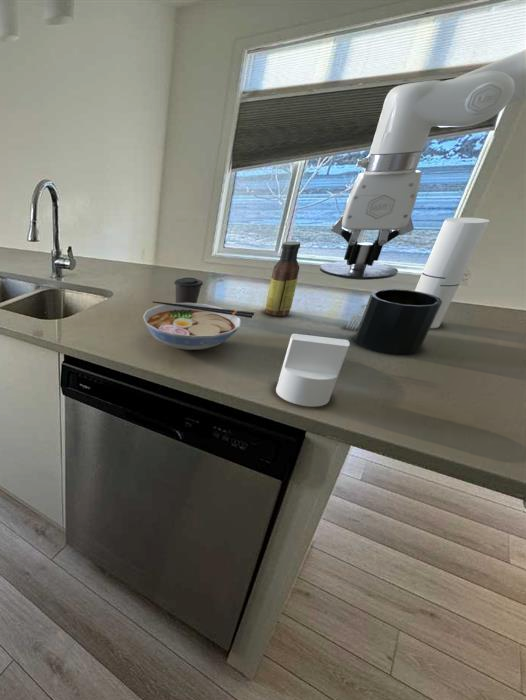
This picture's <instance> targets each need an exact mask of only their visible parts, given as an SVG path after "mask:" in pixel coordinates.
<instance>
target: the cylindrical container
mask: <svg viewBox="0 0 526 700" xmlns="http://www.w3.org/2000/svg"><path fill="white" fill-rule="evenodd" d="M489 223H490V220H489V219H487V218H480V217H448V218H445V219H444V221H443V222H442V226H441V227H440V231H439V232H438V235H437V237H436V240H435V242H434V244H433V247H432V249H431V252H430V254H429V256H428V258H427V261H426V263H425V265H424V268H423V270H422V273H421V275H420V278H419V280H418V282H417V284H416V287H415V289H414V291H418V292H423V293H427V294H431V295H433V296H436V297H438V298H440V299H441V301H442V304H441V306H440V308H439V310H438V312H437V314H436V316H435V319H434V321H433V323H432V325H431V327H430V329H437V328H439V327H440V326H441V324H442V322H443V320H444V319H445V318H444V317H445V316H446V313H447V311H448V309H449V307H450V305H451V303H452V301H453V299H454V297H455V295H456V292H457V290H458V288H459V286H460V284H461V283H462V281H463V277H464V275H465V274H466V271H467V269H468V267H469V265H470V263H471V261H472V259H473V257H474V255H475V253H476V250H477V248H478V246H479V244H480V242H481V240H482V238H483V236H484V234H485V231H486V229H487V228H488V225H489Z"/></svg>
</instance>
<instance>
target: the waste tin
mask: <svg viewBox="0 0 526 700" xmlns="http://www.w3.org/2000/svg"><path fill="white" fill-rule="evenodd" d="M441 304H442V301H441V299H440V298H438V297H436V296H433V295H431V294H427V293H423V292H418V291H415V290H411V289H400V288H399V289H397V288H387V289H378V290H374V291H373V292H371V293H370V296H369V298H368V300H367V303H366V305H367V306H366V305H365V306H366V309H365V311H364V314H363V317H362V319H361V318H360V319H361V322H360V324H359V325H358V327H357V330H356V333H355V335H354V342H355V343H356V344H357V345H359V346H361V347H362V348H364V349H366V350H369V351H372V352H377V353H380V354H381V353H382V354H385V355H386V354H387V355H396V356H397V355H398V356H405V355H413V354H416V353H418V352H419V351H420V350H421V348H422V346H423V344H424V342H425V340H426V338H427V336H428V333H429V331H430V329H431V328H430V327H431V325H432V323H433V321H434V319H435V316H436V314H437V312H438V310H439V308H440V306H441Z"/></svg>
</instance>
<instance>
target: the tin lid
mask: <svg viewBox="0 0 526 700" xmlns="http://www.w3.org/2000/svg"><path fill="white" fill-rule="evenodd" d="M373 243H374V242H365V241H364V242H358V243H357V245H358V248H357V252H356V255H355V258H354V261H353V264H352V265H348V264H347V260H337V261H336V260H335V261H330V262H325V263H323V264H321V265H320V267H319V271H320V272H321V273H323V274H326V275H329V276H332V277H337V278H341V279H346V280H347V279H348V280H359V281H360V280H362V281H367V280H368V281H369V280H371V281H372V280H383V279H388V278H389V279H390V278H393V277H395V276H397V274H398V272H399V270H398V269H397V268H396V267H394V266H392V265H390V264H385V263H381V262H376V261H374V262H373V265H372V266H369V265H367V263H368V260H369V257H370V254H371V251H372V248H373V245H374V244H373Z"/></svg>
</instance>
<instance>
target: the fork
mask: <svg viewBox="0 0 526 700" xmlns="http://www.w3.org/2000/svg"><path fill="white" fill-rule="evenodd" d="M366 306H367V304H366V305H365V306H364V308H363V310H362V311H361V313H360V314H356V313H353V314H352V315H351V317H350V319H349V321H348V324H347V326H346V327H345V328H346V329H348V330H350V329H351V331H352V330H353V331H356V329H358V328H359V325H360V322H361V319H362V317H363V314H364V311H365V309H366Z"/></svg>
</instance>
